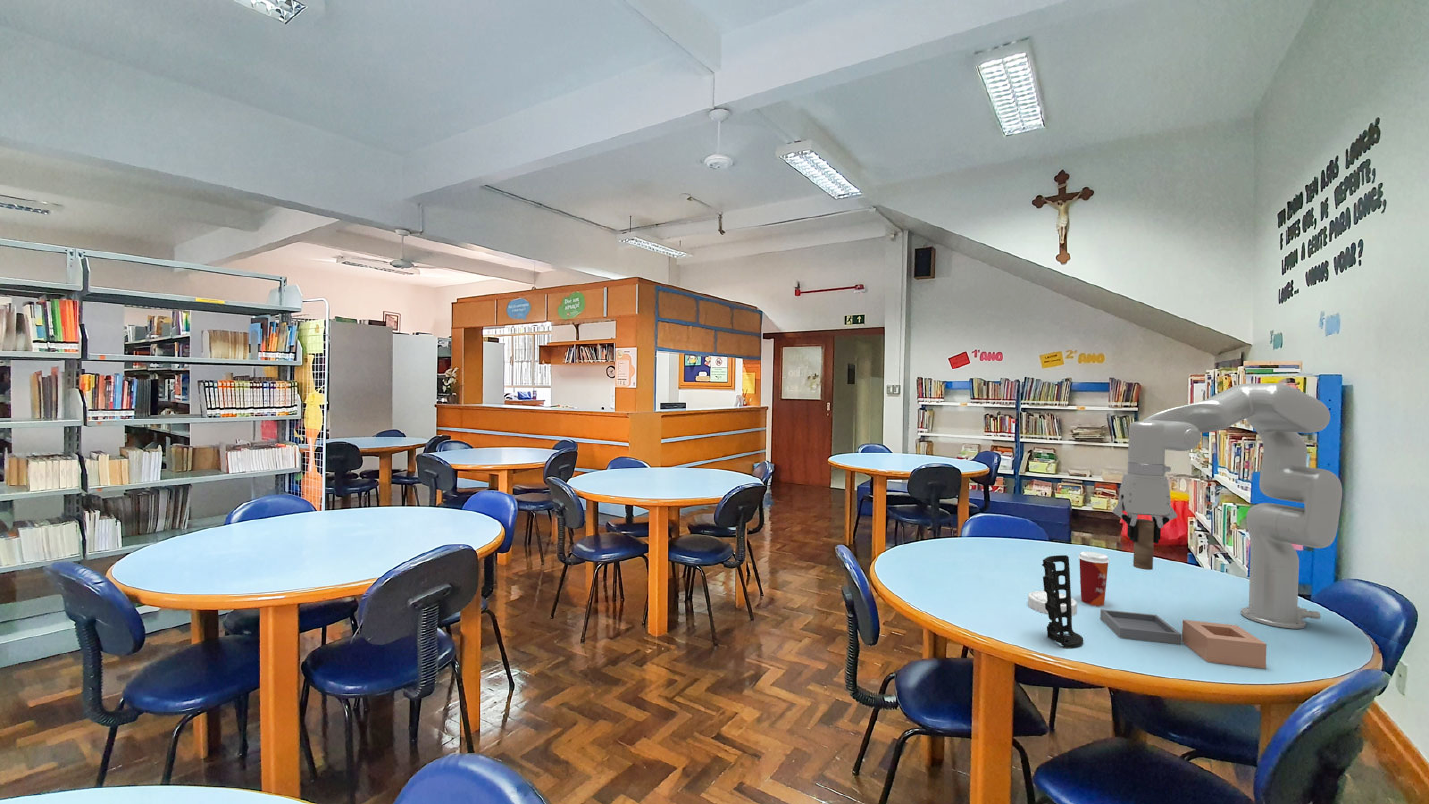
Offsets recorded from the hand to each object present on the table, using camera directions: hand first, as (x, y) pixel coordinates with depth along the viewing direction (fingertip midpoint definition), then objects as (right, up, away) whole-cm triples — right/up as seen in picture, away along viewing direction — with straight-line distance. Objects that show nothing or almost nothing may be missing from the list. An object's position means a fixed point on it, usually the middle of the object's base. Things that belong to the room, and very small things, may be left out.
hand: (1143, 540), depth 148 cm
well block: (+9, -24, -12) cm, 28 cm away
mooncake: (-14, -23, +16) cm, 32 cm away
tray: (-1, -23, +1) cm, 23 cm away
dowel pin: (0, -7, 0) cm, 7 cm away
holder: (-24, -23, -5) cm, 34 cm away
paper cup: (+1, -23, +21) cm, 31 cm away
